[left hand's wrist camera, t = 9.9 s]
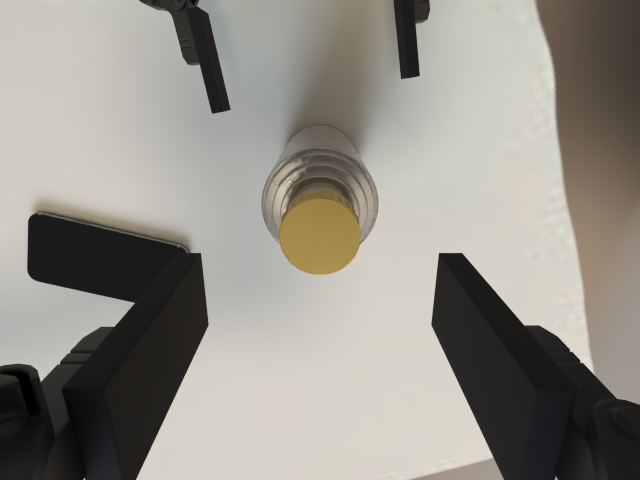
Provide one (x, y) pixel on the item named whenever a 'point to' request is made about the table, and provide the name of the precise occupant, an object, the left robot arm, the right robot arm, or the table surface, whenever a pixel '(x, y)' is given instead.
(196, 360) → the table surface
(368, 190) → the bottle
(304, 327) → the table surface
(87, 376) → the left robot arm
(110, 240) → the smartphone
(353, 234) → the cap
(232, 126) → the table surface
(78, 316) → the table surface
